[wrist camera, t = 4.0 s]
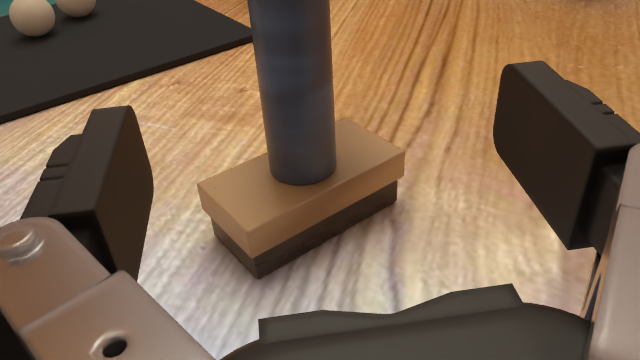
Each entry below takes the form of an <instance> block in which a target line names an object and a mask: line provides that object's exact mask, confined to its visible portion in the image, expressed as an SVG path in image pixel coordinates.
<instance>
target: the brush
mask: <svg viewBox="0 0 640 360" xmlns="http://www.w3.org/2000/svg"><path fill="white" fill-rule="evenodd" d="M248 8H249V15H250V23H251V30H252V38H253V45H254V53H255V61H256V68H257V76H258V83H259V91H260V98H261V106H262V113H263V121H264V129H265V136H266V144H267V151H268V152H267V153H265V154H262V155H260V156H258V157H256V158H253V159H251V160H249V161H247V162H244V163H242V164H240V165H238V166H235V167H233V168H231V169H229V170H226V171H224V172H222V173H220V174H217V175H215V176H213V177H211V178H208V179H206V180H204V181H202V182H199V183H198V184H197V187H198V191H199V196H200V200H201V204H202V209H203V210H204V211H205V212H206V213H207V214H208V215H209V216H210V217H211V220H212V225H213V229H214V234H215V235H216V236H217V237H218V238H219V239H220V240H221V241H222V242H223V243H224V245H225V246H226V247H227V248H228V249H229V250H230V251H231V252H232V253H233V254H234V255H235V256H236V257H237V258H238V259H239V260H240V261H241V262H242V263H243V264H244V265H245V266H246V267H247V269H248V270H249V271H250V272H251V273H252V274H253V275H254V276H255V277H256V278H257V279H260V278H262V277H263V276H265V275H267V274H269V273H270V272H272V271H274V270H276V269H277V268H279V267H281V266H283V265H284V264H286V263H288V262H290V261H291V260H293V259H295V258H297V257H299V256H300V255H302V254H304V253H306V252H307V251H309V250H311V249H313V248H314V247H316V246H318V245H320V244H321V243H323V242H325V241H327V240H328V239H330V238H332V237H334V236H335V235H337V234H339V233H341V232H343V231H344V230H346V229H348V228H350V227H351V226H353V225H355V224H357V223H358V222H360V221H362V220H364V219H365V218H367V217H369V216H371V215H372V214H374V213H376V212H378V211H379V210H381V209H383V208H385V207H386V206H388V205H390V204H392V203H394V202H395V201H396V200H397V180H398V179H400V178H401V177H403V176H404V160H405V151H404V150H403V149H401V148H399V147H397V146H396V145H394V144H392V143H390V142H389V141H387V140H385V139H383V138H382V137H380V136H378V135H376V134H374V133H373V132H371V131H369V130H367V129H366V128H364V127H362V126H360V125H359V124H357V123H355V122H353V121H352V120H350V119H348V118H343V119H341V120H339V121H337V122H335V115H334V93H333V71H332V48H331V26H330V4H329V0H248Z"/></svg>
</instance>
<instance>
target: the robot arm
mask: <svg viewBox="0 0 640 360" xmlns="http://www.w3.org/2000/svg"><path fill="white" fill-rule="evenodd" d="M602 102H603V101H601V100H600V99H599V98H598V97H597V96H596V95H594V94H593V93H592V92H591V91H590V90H588V89H586V88H584V87H582V86H580V85H577V84H575V83H573V82H571V81H568V80H564V79H563V78H562V77H561V76H560V75H559V74H558V73H556V72H555V71H554V70H553V69H552V68H551V67H550V66H548V65H547V64H546V63H545V62H544V61H533V62H524V63H515V64H508V65H506V66H505V67H504V69H503V71H502V74H501V79H500V86H499V92H498V99H497V106H496V112H495V119H494V126H493V138H494V144H495V148H496V150H497V153H498V154H499V156H500V157H501V159H502V160H503V161H504V163H505V164H506V165H507V167H508V168H509V170H510V171H511V172H512V174H513V175H514V176H515V178H516V179H517V181H518V182H519V183H520V185H521V186H522V188H523V189H524V190H525V192H526V193H527V194H528V196H529V197H530V199H531V200H532V201H533V203H534V204H535V205H536V207H537V208H538V210H539V211H540V212H541V214H542V215H543V217H544V218H545V219H546V221H547V222H548V223H549V225H550V226H551V228H552V229H553V230H554V232H555V233H556V234H557V236H558V237H559V239H560V240H561V241H562V243H563V244H564V246H565V247H566V248H567V250H573V249H580V248H588V247H594V248H595V249H596V251H597V252H596V255H595V258H594V261H593V264H592V268H591V272H590V276H589V280H588V284H587V288H586V292H585V296H584V300H583V304H582V308H581V312H580V316H578V315H575V314H572V313H569V312H566V311H564V310H561V309H557V308H553V307H549V306H545V305H539V304H533V303H523V302H522V300H521V298H520V297H519V295H518V293H517V291H516V290H515V288H514V286H513V284H505V285H497V286H490V287H483V288H476V289H469V290H462V291H455V292H450V293H447V294H445V295H442V296H439V297H437V298H434V299H431V300H429V301H426V302H424V303H421V304H418V305H416V306H413V307H410V308H408V309H405V310H402V311H400V312H397V313H393V314H374V313H359V312H343V311H328V310H320V311H313V312H305V313H298V314H291V315H284V316H277V317H270V318H263V319H258V322H259V339H258V340H256V341H253V342H251V343H248V344H246V345H244V346H242V347H240V348H238V349H236V350H234V351H233V352H231V353H230V354H228V355H226V356H225V357H223V358H222V359H220V360H640V133H639V132H638V131H637V130H635V129H634V128H633V127H632V126H631V125H630V124H628V123H627V122H626V121H625V120H624V119H623V118H621V117H620V116H619V115H618V114H614V111H613V110H612V109H611V108H610V107H608V106H607V105H606V104H603V103H602ZM153 192H154V186H153V176H152V170H151V166H150V163H149V159H148V156H147V152H146V149H145V145H144V142H143V139H142V135H141V132H140V128H139V125H138V121H137V118H136V115H135V112H134V110H133V108H132V107H131V106H130V105H128V106H119V107H110V108H101V109H93V110H92V112H91V114H90V116H89V119H88V121H87V123H86V126H85V128H84V130H83V133H82V134H78V135H70V136H69V137H68V138H67V139H66V140H65V141H63V142H62V143H61V144H60V145H59V146H58V147H56V148H55V149H54V150H53V152H52V154H51V156H50V158H49V160H48V162H47V165H46V169H44V171H43V173H42V175H41V177H40V182H38V183H37V185H36V187H35V189H34V191H33V193H32V195H31V197H30V199H29V202H28V204H27V206H26V208H25V210H24V212H23V214H22V216H21V218H20V220H17V221H14V222H11V223H9V224H7V225H4V226H2V227H0V360H215V359H214V358H213V357H212V356H211V355H210V354H209V353H208V352H207V351H206V350H205V349H204V348H203V347H202V346H201V345H200V344H199V343H198V342H197V341H196V340H195V339H194V338H193V337H192V336H191V335H190V334H189V333H188V332H187V331H186V330H185V329H184V328H183V327H182V326H181V325H180V324H179V323H178V322H177V321H176V320H175V319H174V318H173V317H172V316H171V315H170V314H168V313H167V312H166V311H165V310H164V309H163V308H162V307H161V306H160V305H159V304H158V303H157V302H156V301H155V300H154V299H153V298H152V297H151V296H150V295H149V294H148V293H147V292H146V291H145V290H144V289H143V288H142V287H141V286H140V285H139V284H138V283H137V279H138V273H139V268H140V263H141V257H142V252H143V247H144V242H145V236H146V231H147V226H148V221H149V215H150V210H151V205H152V199H153Z"/></svg>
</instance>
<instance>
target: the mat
mask: <svg viewBox="0 0 640 360" xmlns="http://www.w3.org/2000/svg"><path fill="white" fill-rule="evenodd" d="M51 6H52V8H53V10H54V13H55V23H54V26H53V27H52V29H51V30H50V31H49V32H48V33H46V34H45V35H42V36H37V37H33V36H28V35H25V34H23V33H21V32H20V31H18V30H17V29H16V28H15V27H14V25H13V24H12V22H11V20H10V16H9V15H6V16H2V17H0V123H3V122H6V121H9V120H13V119H16V118H19V117H22V116H25V115H28V114H31V113H34V112H37V111H40V110H43V109H46V108H49V107H52V106H55V105H58V104H62V103H65V102H68V101H71V100H74V99H77V98H80V97H83V96H86V95H89V94H92V93H95V92H98V91H101V90H104V89H107V88H111V87H114V86H117V85H120V84H123V83H126V82H129V81H132V80H135V79H138V78H141V77H144V76H147V75H150V74H153V73H156V72H160V71H163V70H166V69H169V68H172V67H175V66H178V65H181V64H184V63H187V62H190V61H193V60H196V59H199V58H202V57H205V56H209V55H212V54H215V53H218V52H221V51H224V50H227V49H230V48H233V47H236V46H239V45H242V44H245V43H248V42H251V41H253V38H252V30H251V28H249V27H247V26H245V25H243V24H241V23H239V22H237V21H235V20H233V19H231V18H229V17H227V16H225V15H223V14H221V13H219V12H217V11H215V10H213V9H211V8H208V7H206V6H204V5H202V4H200V3H198V2H196V1H194V0H96V3H95V7H94V9H93V10H92V12H91V13H89V14H88V15H86V16H84V17H71V16H69V15H67V14H65V13H64V12H62V11H61V10H60V9H59V7H58V6H57V4H52V5H51Z"/></svg>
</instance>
